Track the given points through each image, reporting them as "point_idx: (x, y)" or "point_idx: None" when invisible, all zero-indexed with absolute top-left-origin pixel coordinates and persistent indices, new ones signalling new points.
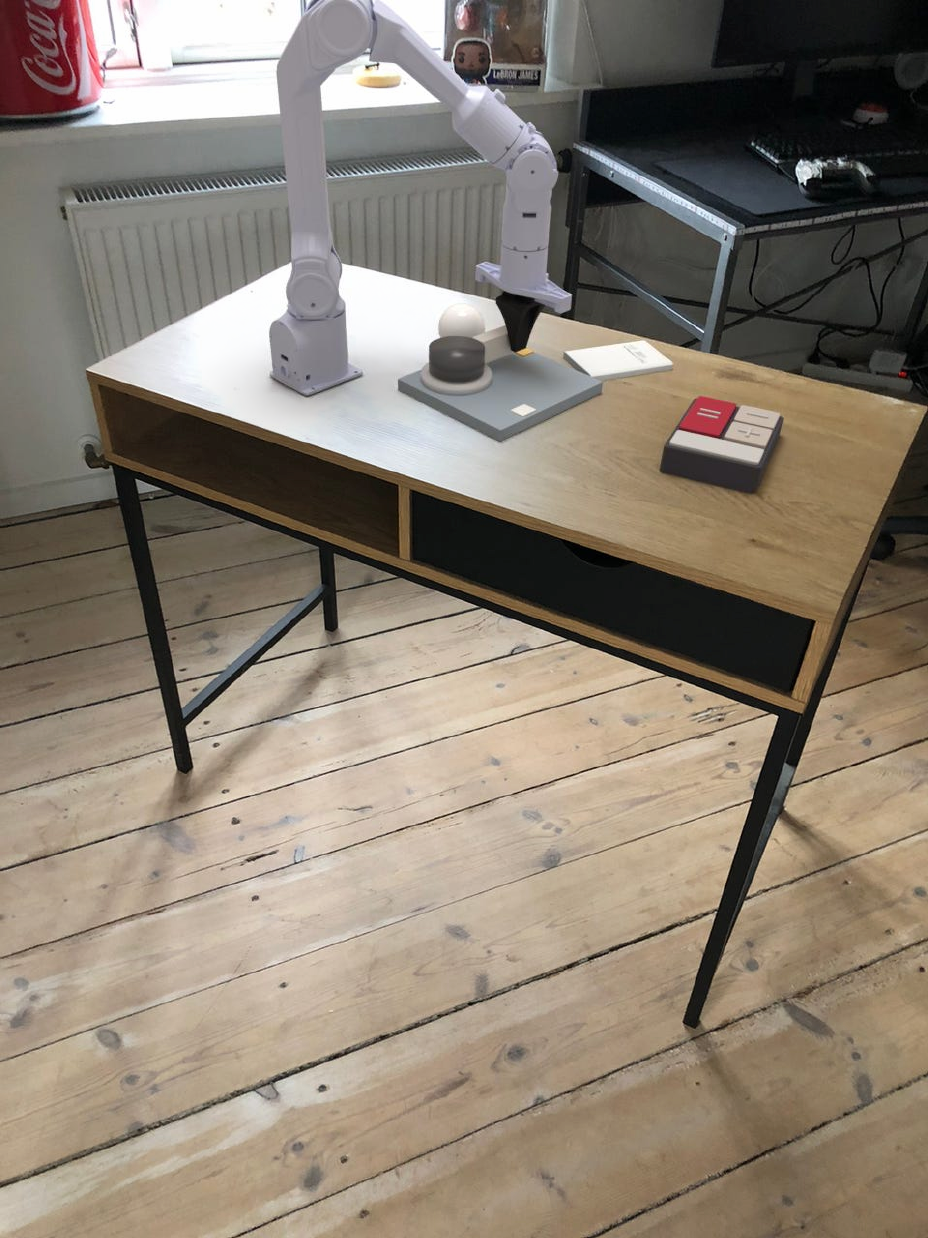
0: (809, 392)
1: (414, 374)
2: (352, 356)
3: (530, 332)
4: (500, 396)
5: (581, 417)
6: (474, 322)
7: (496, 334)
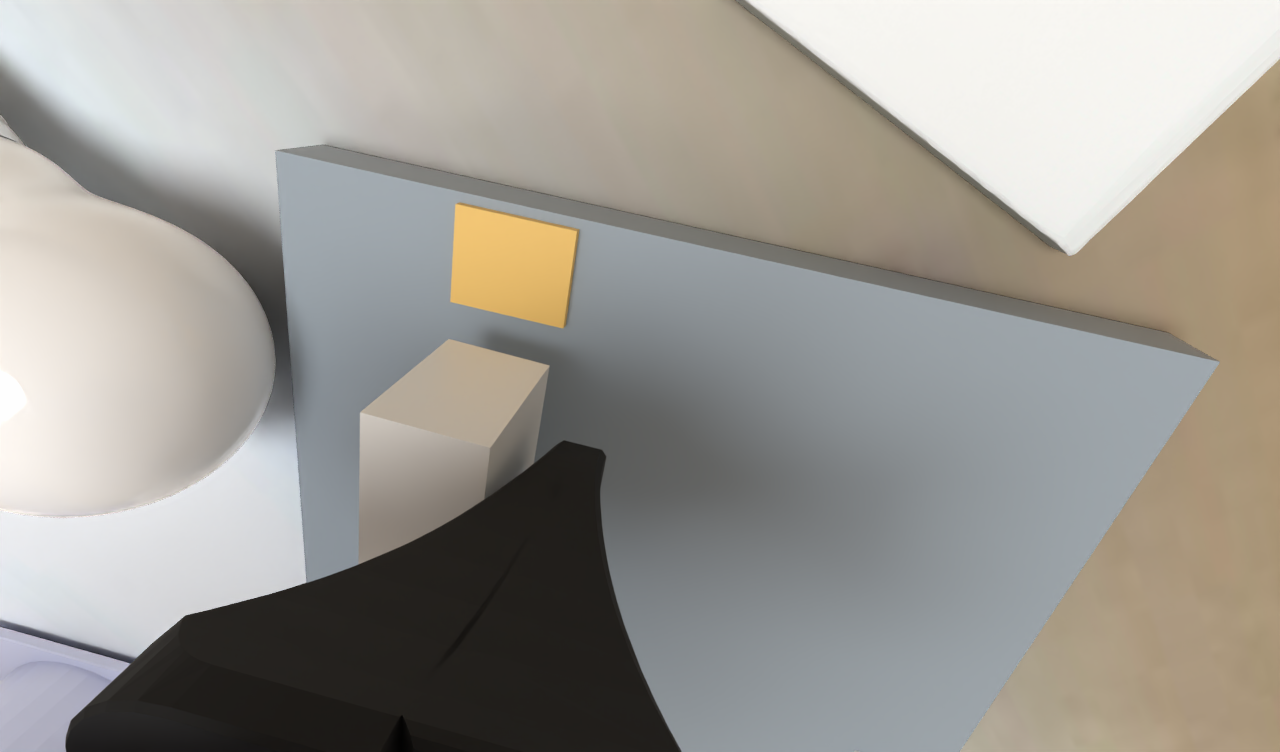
0: None
1: None
2: (35, 582)
3: (600, 516)
4: (719, 723)
5: (1113, 614)
6: (147, 447)
7: None
